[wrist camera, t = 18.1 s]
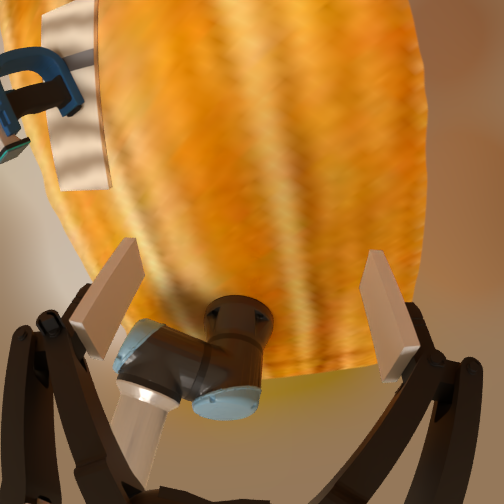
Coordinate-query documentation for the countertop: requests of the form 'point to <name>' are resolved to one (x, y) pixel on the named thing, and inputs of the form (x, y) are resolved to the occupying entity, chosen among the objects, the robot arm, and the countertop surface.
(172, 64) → the countertop surface
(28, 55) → the handheld scanner
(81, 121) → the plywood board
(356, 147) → the countertop surface
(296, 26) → the countertop surface
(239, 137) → the countertop surface
